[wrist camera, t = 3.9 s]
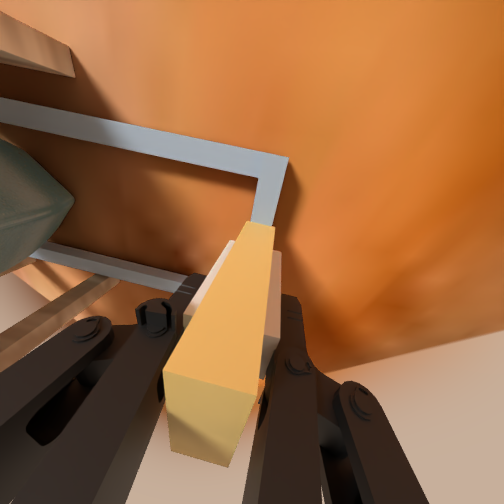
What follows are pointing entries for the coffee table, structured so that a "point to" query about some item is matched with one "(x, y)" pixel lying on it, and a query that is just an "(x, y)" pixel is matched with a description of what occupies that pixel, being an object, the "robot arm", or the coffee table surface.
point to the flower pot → (27, 205)
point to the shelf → (62, 308)
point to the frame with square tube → (216, 298)
